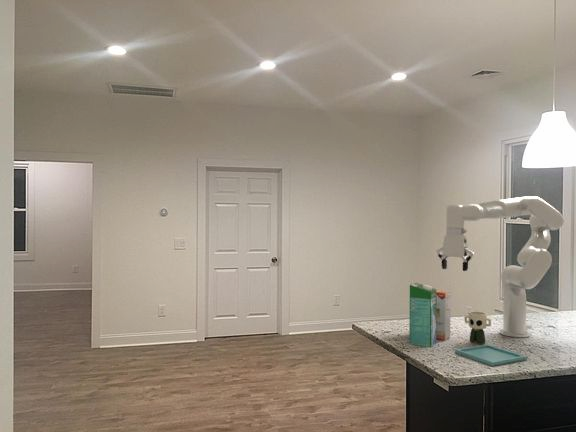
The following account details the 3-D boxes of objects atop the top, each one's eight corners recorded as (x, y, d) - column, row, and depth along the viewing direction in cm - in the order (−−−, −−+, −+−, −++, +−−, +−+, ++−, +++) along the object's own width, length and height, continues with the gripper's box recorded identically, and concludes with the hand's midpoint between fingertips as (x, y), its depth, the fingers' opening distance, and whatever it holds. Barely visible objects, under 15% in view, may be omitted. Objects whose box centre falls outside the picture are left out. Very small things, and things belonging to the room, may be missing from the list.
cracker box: (415, 335, 210) (415, 289, 210) (421, 333, 214) (421, 287, 214) (444, 341, 200) (445, 292, 200) (450, 338, 205) (450, 291, 205)
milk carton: (430, 347, 191) (431, 286, 191) (409, 343, 196) (409, 284, 196) (436, 342, 198) (436, 283, 199) (415, 339, 203) (415, 282, 203)
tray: (487, 348, 190) (487, 344, 190) (526, 360, 174) (526, 356, 174) (454, 353, 182) (454, 349, 182) (492, 366, 166) (492, 362, 166)
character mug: (461, 342, 198) (461, 312, 198) (467, 339, 203) (467, 309, 203) (488, 347, 191) (488, 315, 191) (493, 343, 196) (493, 313, 196)
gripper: (477, 232, 206) (477, 270, 206) (441, 231, 218) (440, 267, 218) (470, 232, 201) (469, 272, 201) (433, 231, 213) (432, 268, 213)
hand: (454, 269), depth 209 cm, fingers open, 9 cm apart
